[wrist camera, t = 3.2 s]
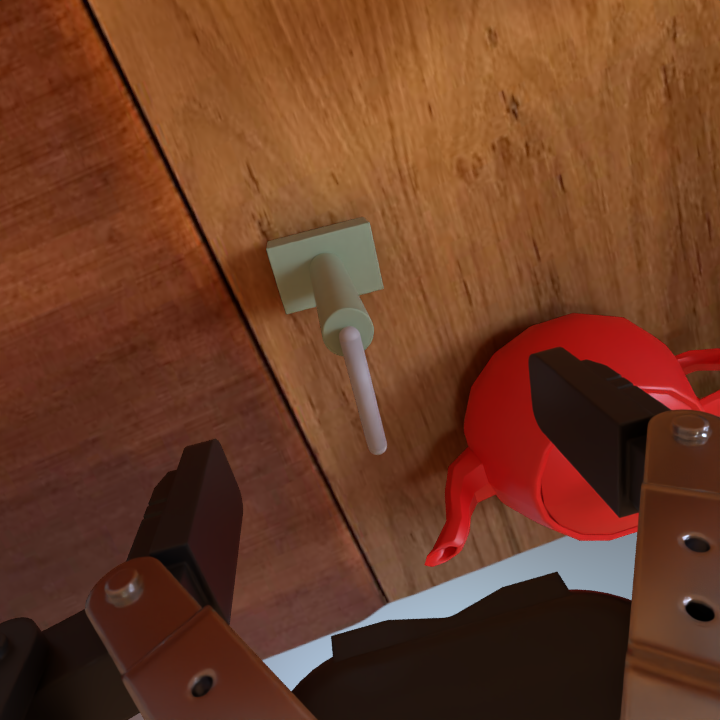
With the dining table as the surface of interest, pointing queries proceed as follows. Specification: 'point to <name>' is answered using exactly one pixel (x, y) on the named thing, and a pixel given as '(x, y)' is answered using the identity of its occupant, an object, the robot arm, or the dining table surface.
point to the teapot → (532, 447)
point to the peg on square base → (336, 300)
